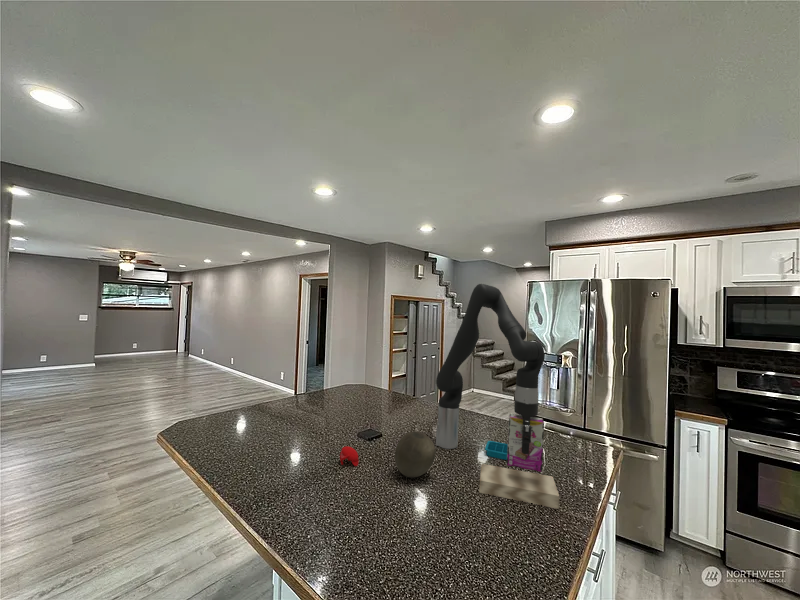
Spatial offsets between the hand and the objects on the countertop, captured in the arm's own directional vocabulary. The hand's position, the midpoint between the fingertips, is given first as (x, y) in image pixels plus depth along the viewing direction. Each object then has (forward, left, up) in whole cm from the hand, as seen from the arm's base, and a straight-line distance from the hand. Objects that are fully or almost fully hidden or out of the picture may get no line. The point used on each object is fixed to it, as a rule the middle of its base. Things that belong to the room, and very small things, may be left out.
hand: (524, 450), depth 110 cm
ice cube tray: (-3, +29, -14) cm, 32 cm away
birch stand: (-2, 0, -14) cm, 14 cm away
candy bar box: (0, 0, -6) cm, 6 cm away
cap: (-62, -5, -14) cm, 64 cm away
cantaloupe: (-37, -4, -14) cm, 40 cm away
